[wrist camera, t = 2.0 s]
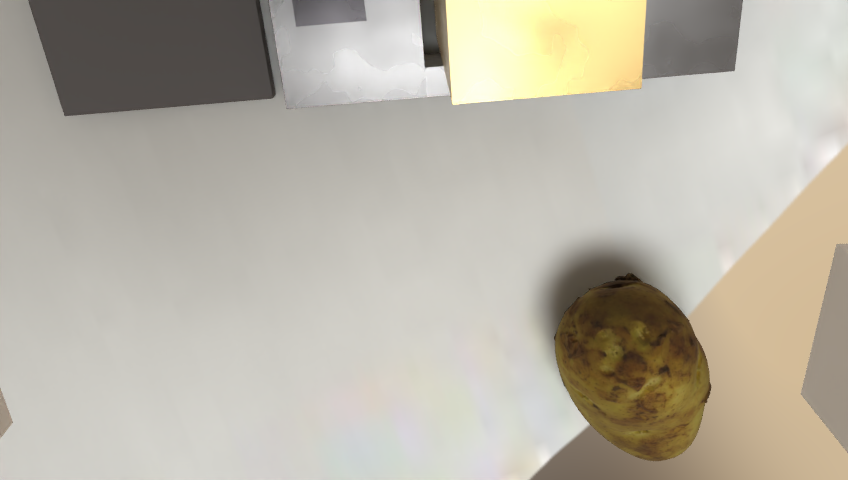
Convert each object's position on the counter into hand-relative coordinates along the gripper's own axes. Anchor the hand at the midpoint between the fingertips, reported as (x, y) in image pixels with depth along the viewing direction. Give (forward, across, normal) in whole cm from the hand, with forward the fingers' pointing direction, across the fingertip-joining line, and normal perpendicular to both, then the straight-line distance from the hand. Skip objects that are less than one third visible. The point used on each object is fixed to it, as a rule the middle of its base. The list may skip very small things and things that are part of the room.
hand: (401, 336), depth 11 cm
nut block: (+25, +4, +4) cm, 25 cm away
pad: (+24, -12, +3) cm, 27 cm away
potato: (+25, +11, -17) cm, 32 cm away
